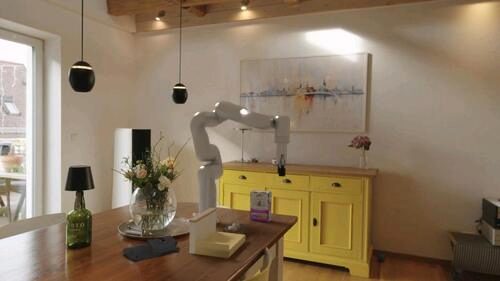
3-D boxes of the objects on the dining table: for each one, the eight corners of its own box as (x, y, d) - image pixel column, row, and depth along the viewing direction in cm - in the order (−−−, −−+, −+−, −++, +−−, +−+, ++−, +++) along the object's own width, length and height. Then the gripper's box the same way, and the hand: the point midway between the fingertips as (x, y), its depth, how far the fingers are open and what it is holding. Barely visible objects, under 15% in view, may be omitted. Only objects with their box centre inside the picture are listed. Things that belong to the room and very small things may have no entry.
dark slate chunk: (118, 253, 148) (118, 241, 147) (166, 242, 162) (166, 231, 162) (133, 264, 136) (133, 252, 136) (184, 251, 150) (184, 240, 150)
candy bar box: (271, 220, 199) (272, 191, 199) (268, 222, 195) (269, 192, 194) (253, 218, 204) (253, 189, 203) (249, 220, 199) (250, 191, 198)
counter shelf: (188, 253, 147) (188, 219, 146) (210, 237, 169) (210, 207, 168) (227, 258, 142) (228, 223, 141) (245, 241, 163) (245, 210, 163)
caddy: (223, 238, 167) (223, 228, 167) (231, 230, 179) (232, 221, 179) (236, 239, 165) (236, 229, 165) (244, 232, 177) (244, 223, 177)
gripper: (273, 139, 185) (272, 172, 186) (275, 141, 168) (274, 177, 169) (288, 139, 185) (287, 172, 186) (291, 141, 168) (290, 177, 169)
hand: (281, 174), depth 178 cm, fingers open, 9 cm apart
